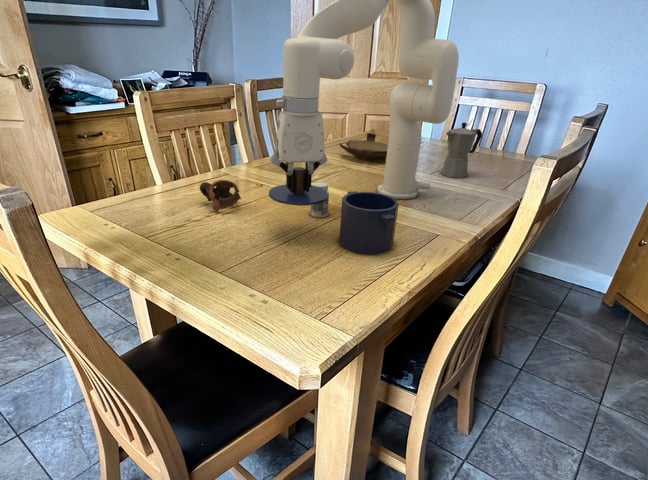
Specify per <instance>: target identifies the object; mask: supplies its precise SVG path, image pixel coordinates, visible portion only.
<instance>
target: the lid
mask: <svg viewBox="0 0 648 480" xmlns="http://www.w3.org/2000/svg"><path fill="white" fill-rule="evenodd" d="M293 175H294V176H295V192H294V193H291V192H290V191H289V189H288V188H287V187H286V183H285V184H280V185H277V186H273V187H272V188H271V189H270V188H269V191H268V196H269V198H270V199H271V200H272V201H275V202H277V203H279V204H283V205H289V206H290V205H291V206H311V205H314V204H318V203H322V202H324V201H325V200H327V198H328V193H327V191H328V190H327V191H325V190H324V189H322V188H319V187H316V186H313V184H311V187H309V192H306V191H305V167H301V166H295V167H293Z"/></svg>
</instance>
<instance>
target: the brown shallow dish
mask: <svg viewBox="0 0 648 480" xmlns="http://www.w3.org/2000/svg"><path fill="white" fill-rule="evenodd" d="M376 136H377V135H376V130H375V129H374V128H372V129H370V132H368V133H366V140H352V139H351V140H348V141H347V142H345V145H344V144H342V143H341V142H340V143H339V147H340V148H342V149H343V150H344V151H346V152H347V153H348V154H351V155H352V156H355V157H357V158H362V159H363V158H364V159H380V158H383V157H386V156H387V148H388V143H384V142H379V141H375V140H376Z"/></svg>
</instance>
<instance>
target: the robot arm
mask: <svg viewBox="0 0 648 480" xmlns="http://www.w3.org/2000/svg"><path fill="white" fill-rule="evenodd" d="M390 1H391V0H334V1H332V2H331V3H329V4H327V5H326V6H325V7H323V8H321V9H320V10H319V11H317V12H316V13H315V14H314V15H312V16H311V17H310V19H309V20H307V22H306V23H305V24H304V26H303V27H302V29H301V30H300V31H299V33H298V35H297V36H296V37H295V38H288V39H286V40H285V41H284V43H283V49H282V50H283V51H282V52H283V55H282V56H283V58H282V59H283V60H282V61H283V64H282V65H283V66H282V68H283V69H282V71H283V72H282V74H283V76H282V77H283V78H282V80H283V81H282V85H283V86H282V96H281V98H280V99H276V101H275V104H276V107H277V108H279V107H280V108H281V109H282V110H281V111H280V112H279V117H278V121H277V128H276V129H277V130H276V137H275V138H276V140H275V150H274V152H273V154H272V156H271V158H270V162H271V163H272V165H275V166H277V167H279V168H280V169H282V170H283V172H285V173H286V174H285V176H286V177H285V178H286V180H285V184H286V187H287V188H288V189H289V191H290V192H291V193H294V192H295V176H294V175H293V168H295V167H294V166H295V163H296V164H297V163H304V168H305V191H306V192H309V187H311V185H312V176H313V175H314V173H315V172H316V170H317V169H318V168H319V167H320V166H322V165H323V164H326V163H327V162H328V158H327V155H326V152H325V127H324V117H323V113H321V112H319V107H320V84H321V79H328V80H340V79H341V80H342V79H343V78H345V77H347V76H348V75H349V74H350V73H351V71H352V70H353V67H354V66H355V65H354V64H355V53H354V51H353V48H352V47H351V45H350V44H349V43H347V41H345V40H342V39H340V38H343V37H345V36H348V35H351V34H356V33H358V32H361V31H363V30H366V29H368V28H370V27H371V26H373V25H374V24H375V23H376V22H377V20H378V19H379V17H380V16H381V15H382V13H383V11H384V10H385V8H386V7H387V5H388V4H389V2H390ZM395 2H396V4H397V6H398V9H399V12H400V17H401V18H400V19H401V29H400V41H399V51H398V52H399V53H398V70H399V73H400V74H401V75H402V76H404V77H407V78H412V79H421V80H429V81H431V82H432V84H427V83H421V82H420V83H419V82H411V81H409V82H408V81H406V82H400V83H398V84H397V85H396V86H394V88H393V89H392V90H391V92H390V96H389V133H388V141H387V144H388V148H387V156H385V166H384V173H383V182H382V184H380V185H378V187H377V190H376V191H377V193H381V194H384V195H388V196H391V197H393V198H394V199H396V200H409V199H414V198H417V196H418V195H419V190H420V189H421V190H422V189H423V190H429V189H430V185H431V184H430V182H424V181H423V180H417V179H416V175H417V168H418V162H419V156H420V151H421V150H420V149H421V143H422V130H421V126H420V124H419V122H423V123H428V124H435V125H439V124H442V123H444V122H446V120H447V119H448V117H449V116H450V113H451V110H452V107H453V101H454V93H455V88H456V81H457V76H458V69H459V59H460V57H459V55H460V53H459V49H458V46H457V45H456V44H455V42H453V41H452V40H449V39H442V38H441V39H440V38H435V25H436V13H435V8H434V6H433V2H432V1H431V0H395Z"/></svg>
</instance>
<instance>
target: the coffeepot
mask: <svg viewBox="0 0 648 480" xmlns="http://www.w3.org/2000/svg"><path fill="white" fill-rule="evenodd" d="M467 124H468V123H466V122H462V123H461V127H457V128H452V129H448V131H447V132H446V134H445V135H447V139H448V140H447V151H448V154H447V155H446V157H445V160H444V163H443V165H442V168H441V171H440V172H441V174H442V175H443V176H445V177H448V178H454V179H463V178H466V177H467V176H468V167H469V166H468V165H469V157H468V156H469V154H473V153H475V152H476V149H477V147H478V146H479V144H480V141H481V139H482V137H483V133H482V130H481V129H480V128H476V129H473V128H472V129H468V128H466V126H467Z"/></svg>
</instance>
